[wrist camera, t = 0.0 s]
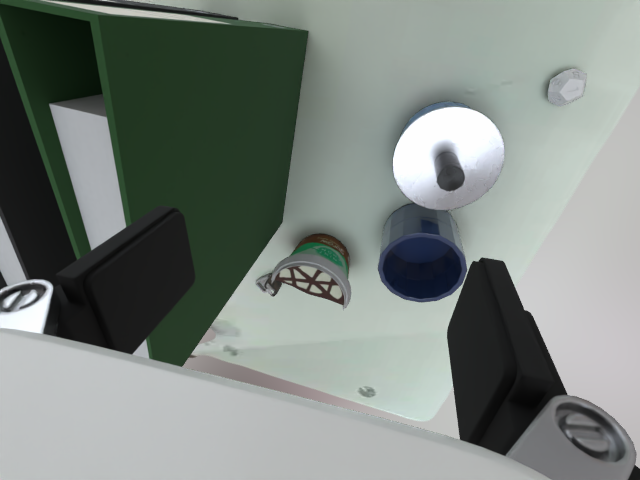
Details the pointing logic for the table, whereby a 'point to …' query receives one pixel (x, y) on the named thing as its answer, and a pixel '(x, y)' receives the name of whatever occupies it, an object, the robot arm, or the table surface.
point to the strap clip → (268, 284)
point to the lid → (448, 158)
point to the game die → (567, 87)
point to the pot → (421, 254)
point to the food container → (317, 268)
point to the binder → (144, 141)
